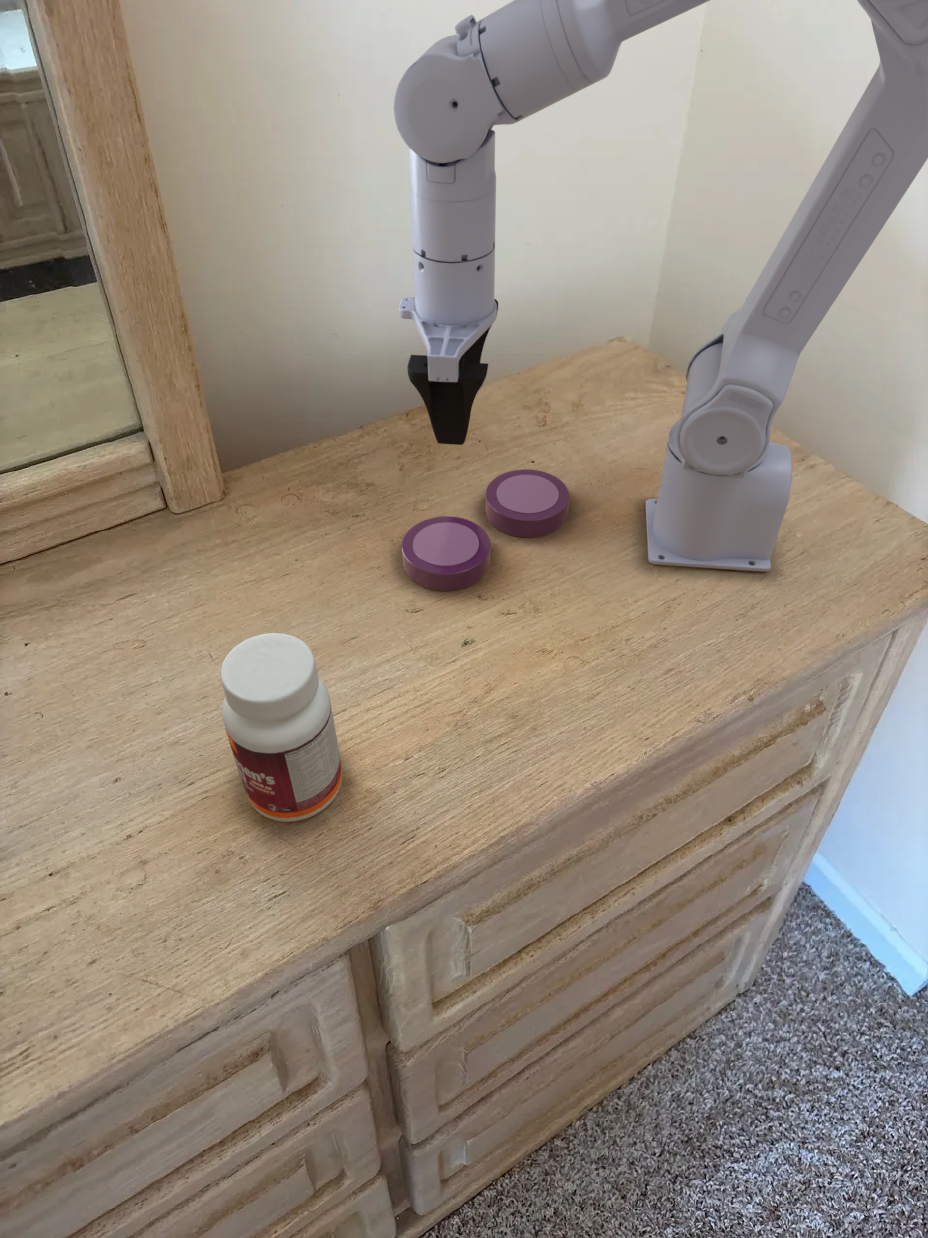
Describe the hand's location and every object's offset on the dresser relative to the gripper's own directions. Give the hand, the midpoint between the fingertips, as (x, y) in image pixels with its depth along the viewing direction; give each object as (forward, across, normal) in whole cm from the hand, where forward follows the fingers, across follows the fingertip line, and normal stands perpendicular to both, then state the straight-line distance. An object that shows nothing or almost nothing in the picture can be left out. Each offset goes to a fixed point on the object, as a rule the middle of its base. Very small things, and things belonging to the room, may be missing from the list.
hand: (456, 415), depth 72 cm
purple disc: (+8, +8, 0) cm, 12 cm away
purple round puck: (+8, +1, +6) cm, 10 cm away
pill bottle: (+9, +30, -7) cm, 32 cm away
